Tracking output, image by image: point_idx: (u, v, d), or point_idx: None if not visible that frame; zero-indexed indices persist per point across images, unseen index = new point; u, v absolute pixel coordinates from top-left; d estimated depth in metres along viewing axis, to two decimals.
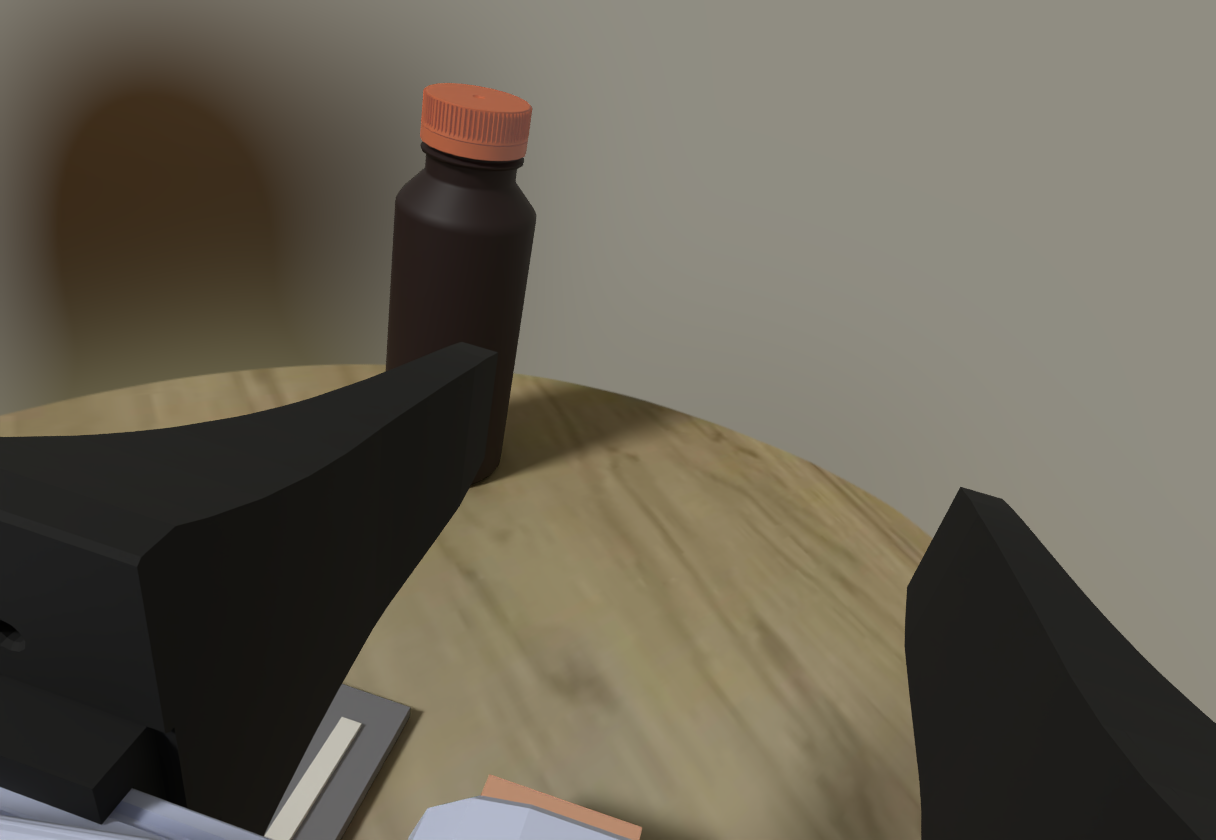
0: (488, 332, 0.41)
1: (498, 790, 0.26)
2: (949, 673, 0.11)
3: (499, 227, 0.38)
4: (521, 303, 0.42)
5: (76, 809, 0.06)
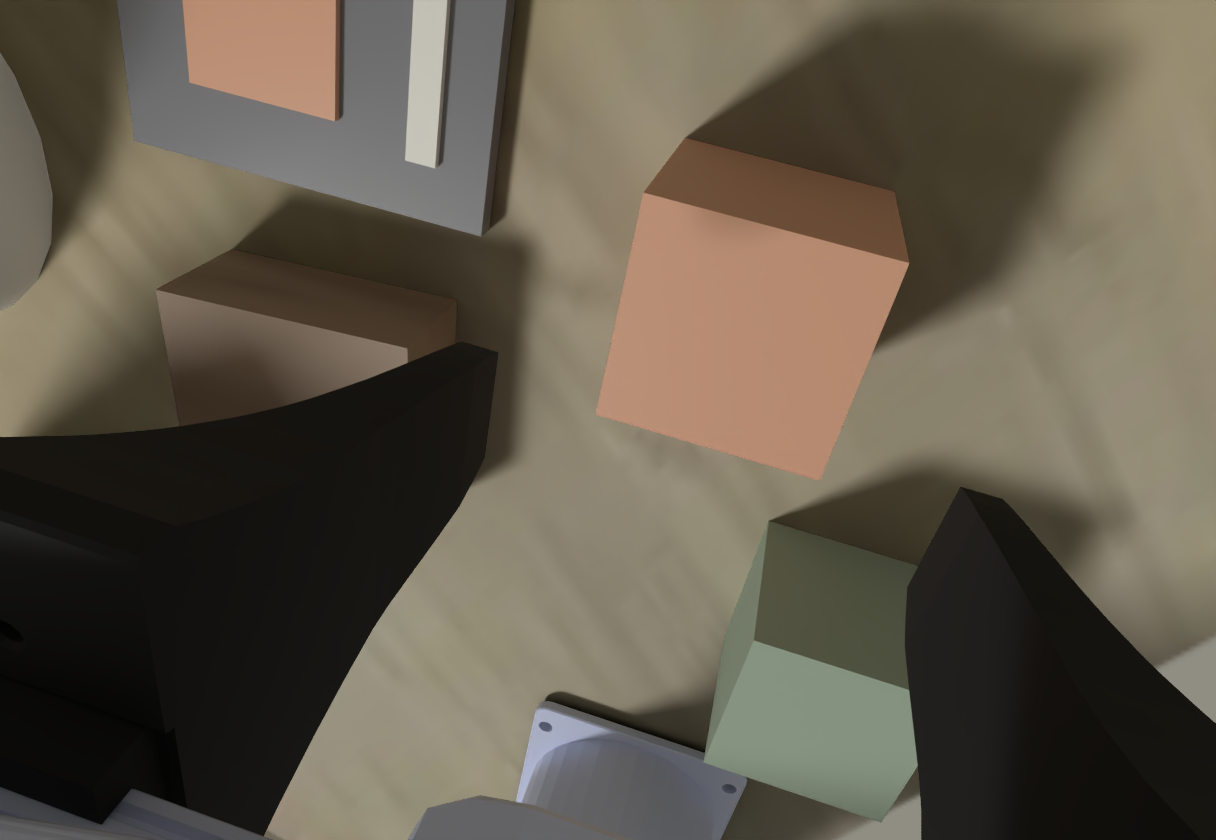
0: None
1: (662, 220, 0.16)
2: (948, 673, 0.11)
3: None
4: None
5: (76, 809, 0.06)
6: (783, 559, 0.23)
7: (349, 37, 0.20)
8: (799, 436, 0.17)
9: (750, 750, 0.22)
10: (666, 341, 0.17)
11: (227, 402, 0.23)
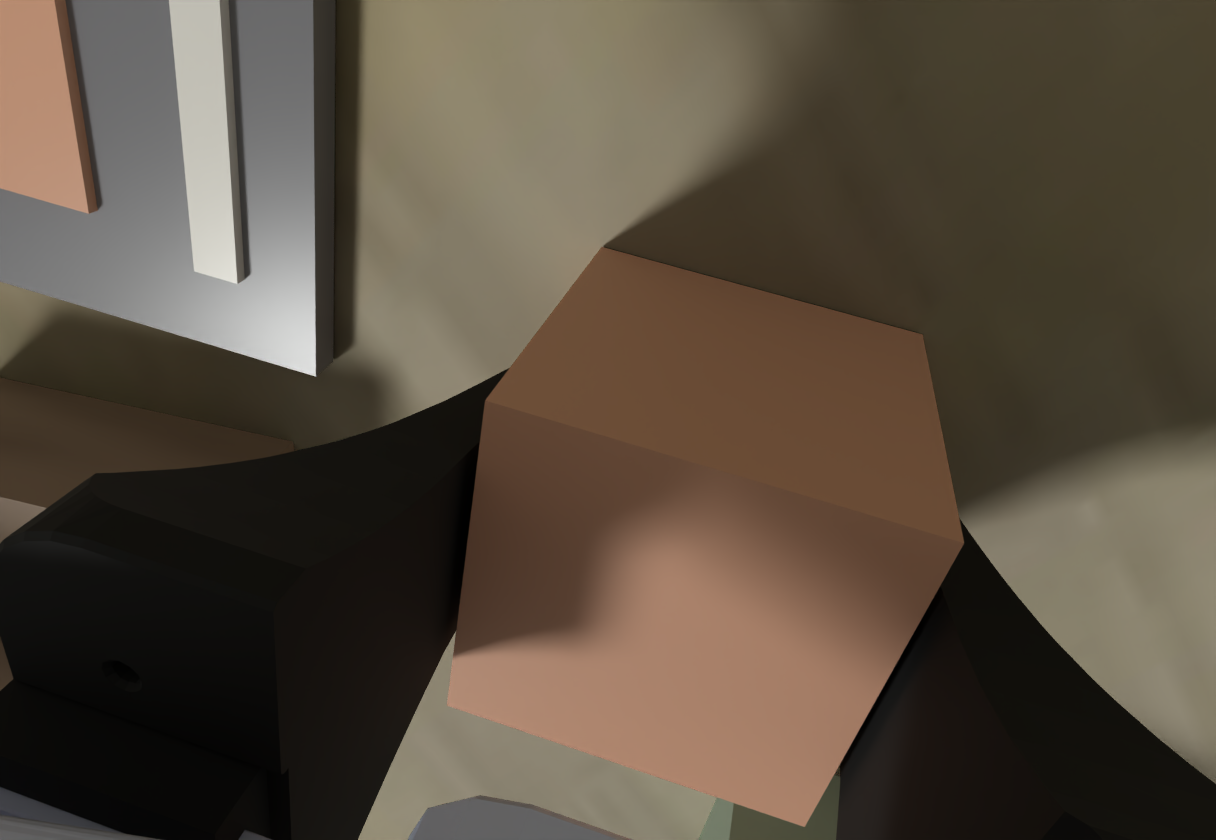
0: None
1: (521, 444, 0.09)
2: None
3: None
4: None
5: (76, 809, 0.06)
6: (758, 816, 0.16)
7: (93, 93, 0.13)
8: (770, 767, 0.10)
9: None
10: (545, 621, 0.10)
11: None
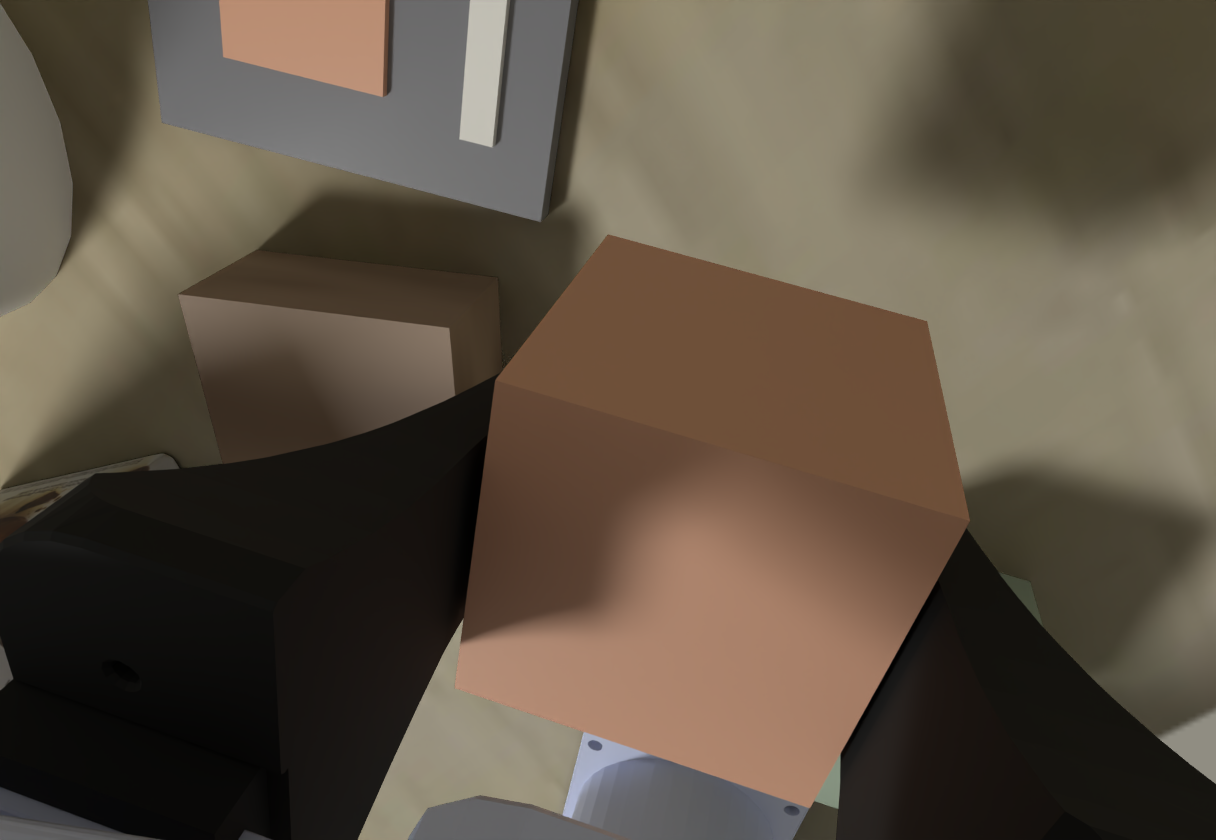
0: None
1: (530, 424, 0.09)
2: None
3: None
4: None
5: (76, 809, 0.06)
6: None
7: (400, 3, 0.18)
8: (776, 748, 0.10)
9: (835, 778, 0.20)
10: (554, 602, 0.10)
11: (264, 410, 0.21)
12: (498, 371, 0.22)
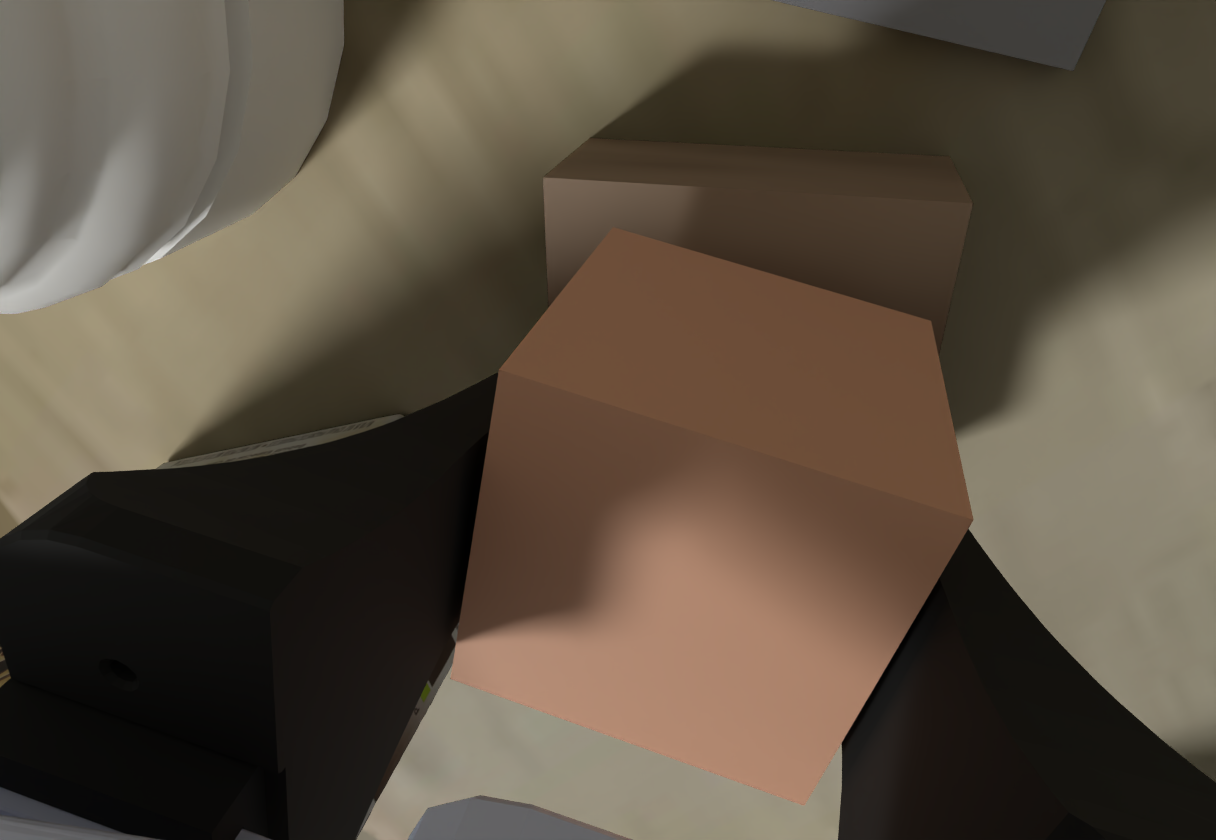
0: None
1: (534, 414, 0.09)
2: None
3: None
4: None
5: (76, 809, 0.06)
6: None
7: None
8: (772, 745, 0.10)
9: None
10: (552, 594, 0.10)
11: None
12: None
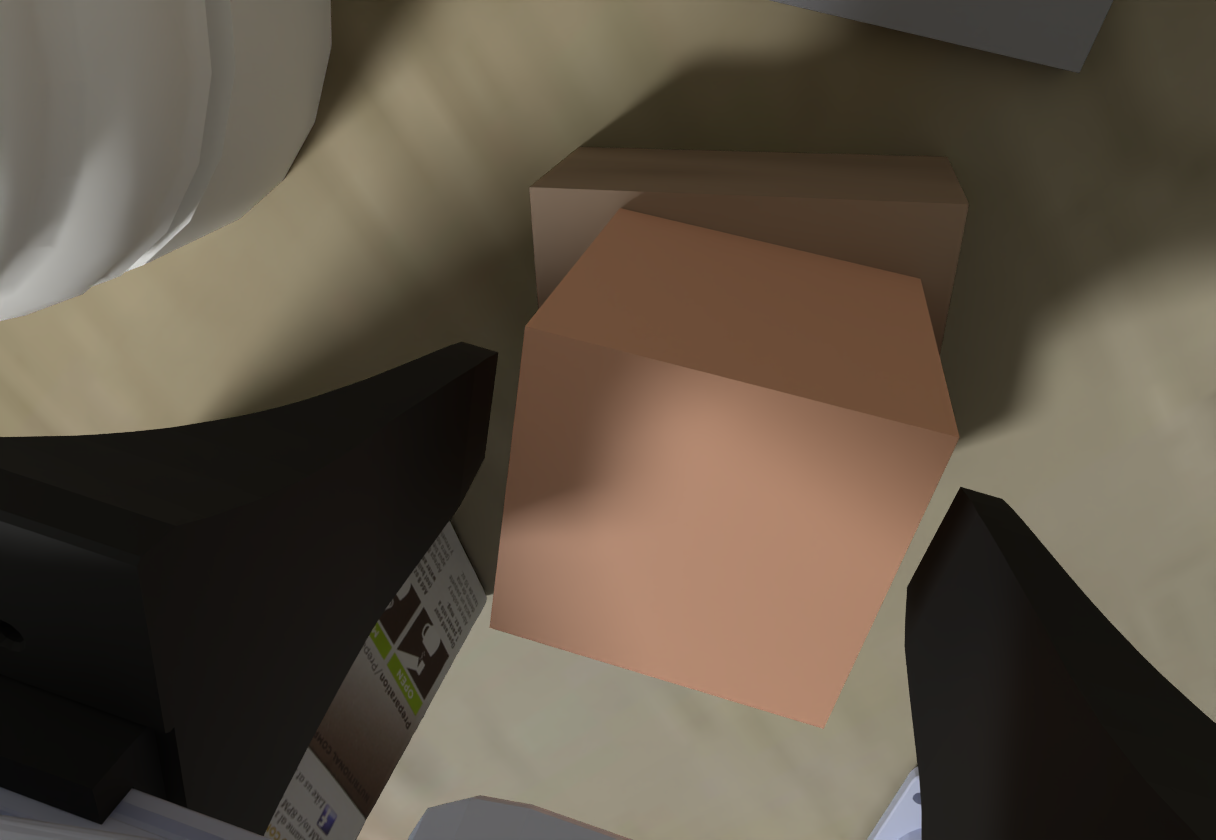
0: None
1: (557, 366, 0.10)
2: (948, 673, 0.11)
3: None
4: None
5: (76, 809, 0.06)
6: None
7: None
8: (790, 670, 0.11)
9: None
10: (581, 537, 0.11)
11: None
12: None
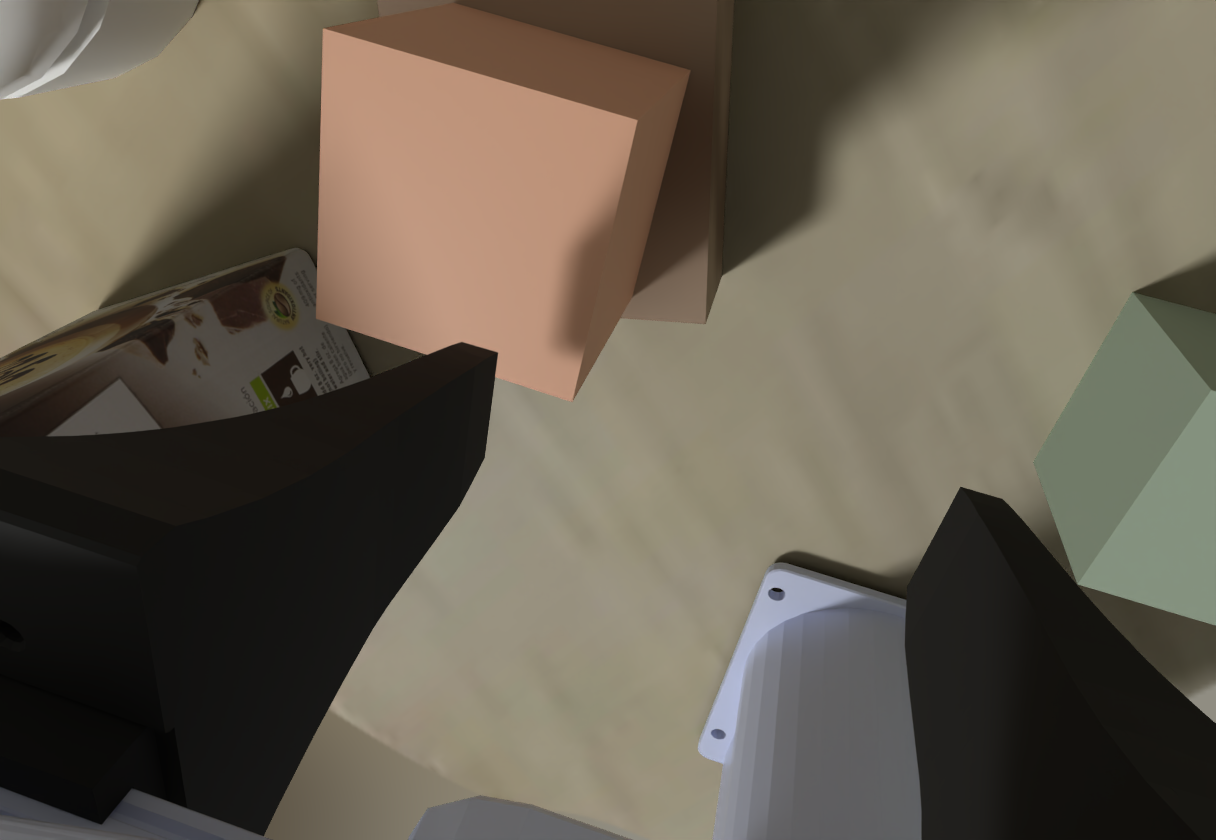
0: None
1: (349, 65, 0.13)
2: (949, 673, 0.11)
3: None
4: None
5: (76, 809, 0.06)
6: (1178, 324, 0.18)
7: None
8: (542, 346, 0.14)
9: (1154, 561, 0.17)
10: (378, 226, 0.14)
11: None
12: (728, 97, 0.19)
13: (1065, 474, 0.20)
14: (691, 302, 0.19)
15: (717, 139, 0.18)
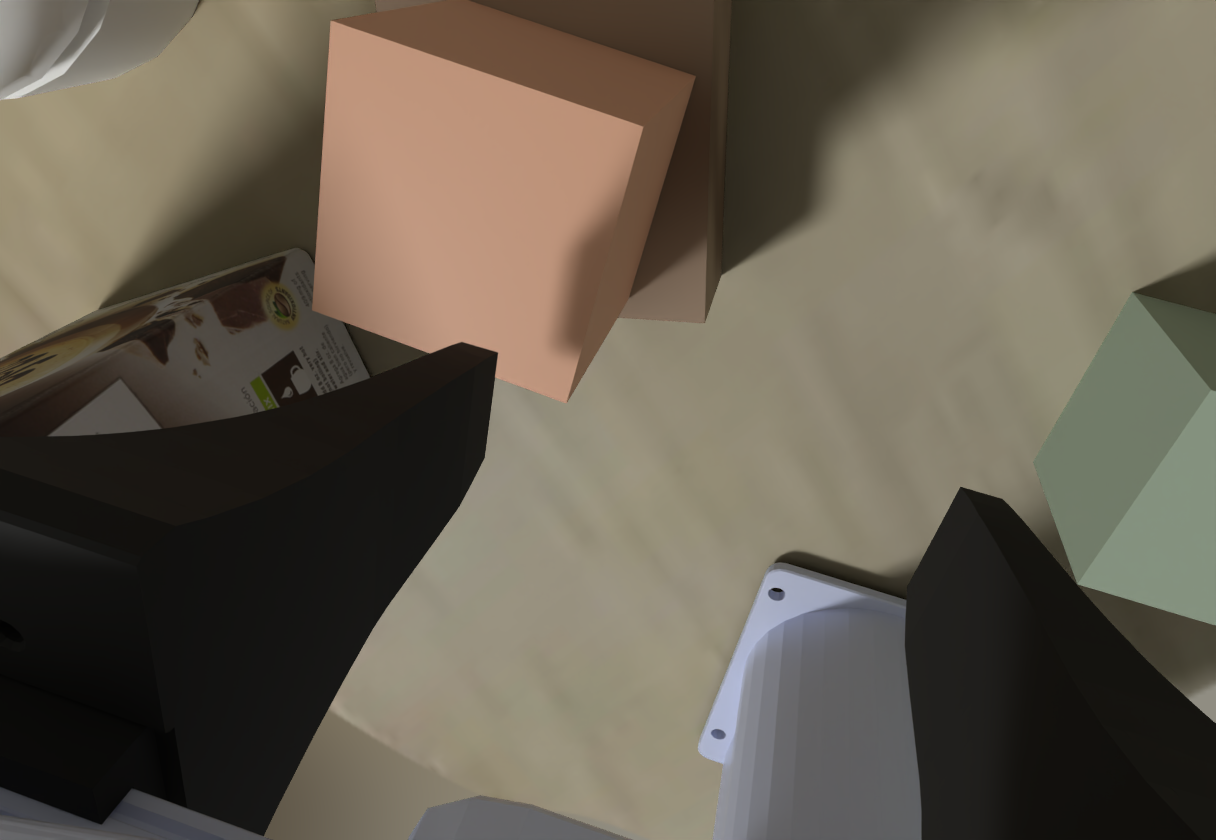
0: None
1: (356, 58, 0.13)
2: (948, 673, 0.11)
3: None
4: None
5: (76, 809, 0.06)
6: (1178, 324, 0.18)
7: None
8: (539, 347, 0.14)
9: (1154, 561, 0.17)
10: (378, 220, 0.14)
11: None
12: (726, 96, 0.19)
13: (1065, 474, 0.20)
14: (690, 301, 0.19)
15: (715, 138, 0.18)
